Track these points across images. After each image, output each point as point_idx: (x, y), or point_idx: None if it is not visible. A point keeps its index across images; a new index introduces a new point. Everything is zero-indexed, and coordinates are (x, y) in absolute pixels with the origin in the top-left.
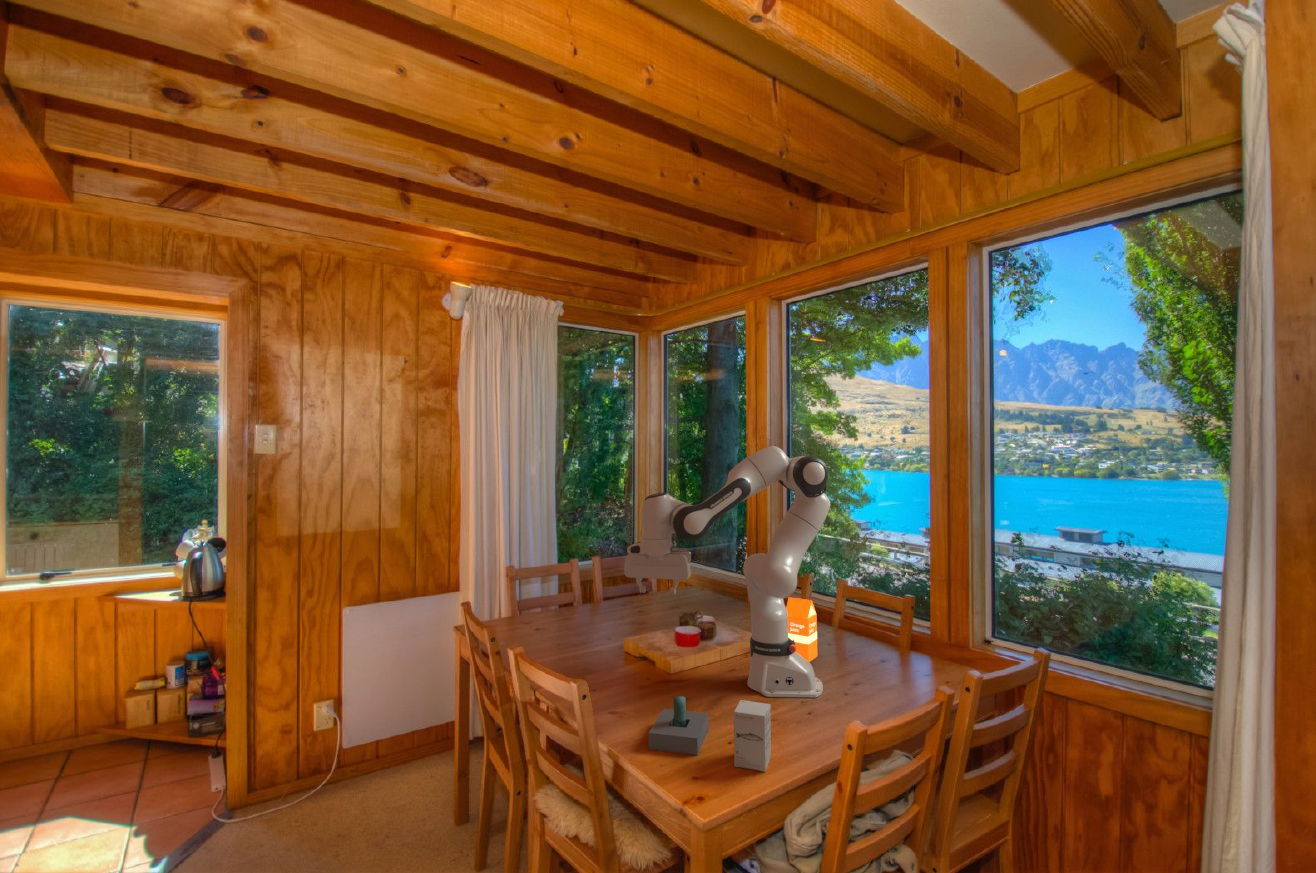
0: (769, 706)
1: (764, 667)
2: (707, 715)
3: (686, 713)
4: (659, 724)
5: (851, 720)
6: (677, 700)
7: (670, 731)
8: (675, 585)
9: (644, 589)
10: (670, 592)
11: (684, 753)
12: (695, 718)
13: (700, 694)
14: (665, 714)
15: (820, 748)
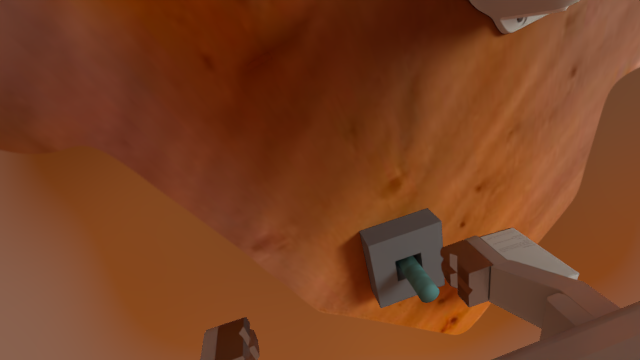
0: (576, 279)
1: (554, 12)
2: (441, 227)
3: (409, 239)
4: (384, 285)
5: (632, 65)
6: (429, 301)
7: (406, 290)
8: (534, 314)
9: (247, 347)
10: (454, 282)
11: None
12: (427, 245)
13: (372, 91)
14: (379, 259)
15: (570, 176)
